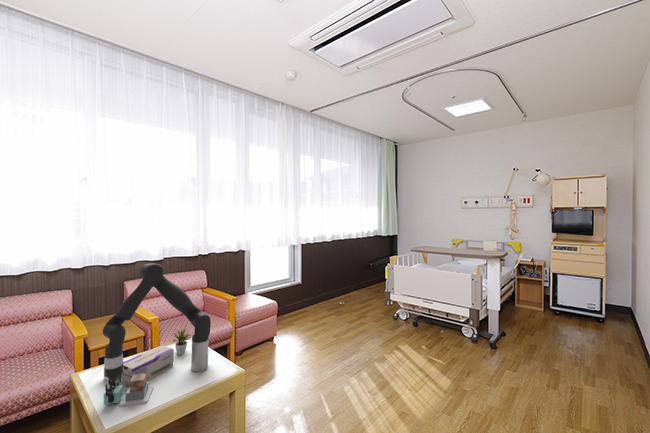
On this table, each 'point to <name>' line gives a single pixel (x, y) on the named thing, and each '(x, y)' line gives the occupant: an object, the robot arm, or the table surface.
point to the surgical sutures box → (148, 364)
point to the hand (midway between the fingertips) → (113, 397)
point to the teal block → (115, 394)
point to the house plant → (181, 341)
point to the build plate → (124, 403)
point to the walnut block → (138, 382)
